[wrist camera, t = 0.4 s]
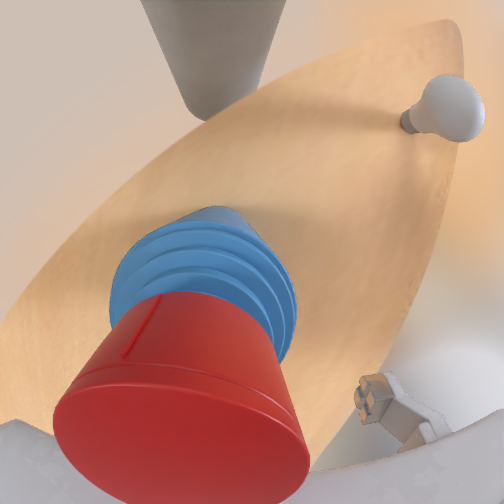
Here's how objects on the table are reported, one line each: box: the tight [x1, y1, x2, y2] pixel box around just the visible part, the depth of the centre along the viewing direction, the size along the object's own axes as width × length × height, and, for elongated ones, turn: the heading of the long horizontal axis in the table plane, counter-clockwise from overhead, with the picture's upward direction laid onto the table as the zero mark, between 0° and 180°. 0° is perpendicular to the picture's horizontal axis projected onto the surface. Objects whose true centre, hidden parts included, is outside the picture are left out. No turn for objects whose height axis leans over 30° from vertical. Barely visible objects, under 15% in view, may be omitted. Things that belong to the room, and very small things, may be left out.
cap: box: [53, 292, 310, 504], centre depth 4 cm, size 4×4×3 cm
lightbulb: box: [401, 75, 485, 142], centre depth 18 cm, size 6×6×11 cm
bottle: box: [109, 206, 297, 365], centre depth 14 cm, size 6×6×22 cm
